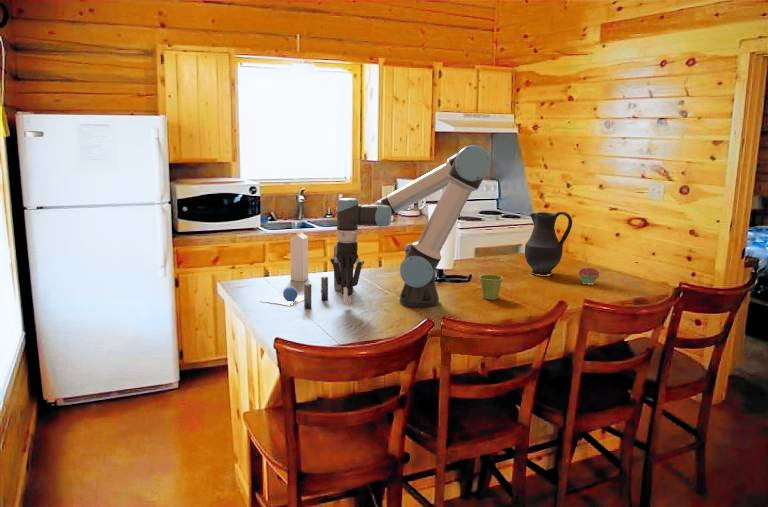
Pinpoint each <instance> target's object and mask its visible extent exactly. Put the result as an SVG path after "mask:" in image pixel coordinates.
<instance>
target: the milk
mask: <svg viewBox="0 0 768 507" xmlns="http://www.w3.org/2000/svg"><path fill="white" fill-rule="evenodd" d="M289 241H290V242H289V245H290V246H289V249H290V250H289V251H290V252H289V254H290V256H289V258H290V260H289V261H290V263H289V264H290V281H291V280H294V281H295V282H302V281H303V282H305V281H307V280H308V279H309V236H308V235H306V234H305V233H303V229H302V228H300V229H298V230H296V233H295V235H294V236H291V237H290V238H289ZM294 281H293V282H294Z"/></svg>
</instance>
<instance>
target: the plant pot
mask: <svg viewBox="0 0 768 507" xmlns="http://www.w3.org/2000/svg"><path fill="white" fill-rule="evenodd" d="M478 278H479V280H480V286H481V296H482V298H483V299H484V300H490V301H493V300H495V301H496V300H497V299H499V295H500V290H501V285H502V282H503V280H504V277H503V276H501V275H497V274H481V275H479V277H478Z"/></svg>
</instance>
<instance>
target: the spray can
mask: <svg viewBox="0 0 768 507" xmlns="http://www.w3.org/2000/svg"><path fill="white" fill-rule="evenodd" d="M336 254H337V244H334V246H333V258H335V257H336ZM338 263H339V267H340V262H339V261H338ZM340 272H341V268H340ZM333 284H334V285H333V288H334V291H337V292H342V287H341V285H338V284H337V282H336V278H335V273H334V272H333ZM346 286H347V285H346Z"/></svg>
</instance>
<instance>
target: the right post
mask: <svg viewBox="0 0 768 507" xmlns="http://www.w3.org/2000/svg"><path fill="white" fill-rule="evenodd" d="M320 279H321V280H320V281H321V282H320V283H321V284H320V287H321V288H320V290H321V292H320V293H321V296H320V298H321V299H320V300H321V301H322V302H328V301H329V277H328V276H321V278H320Z"/></svg>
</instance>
